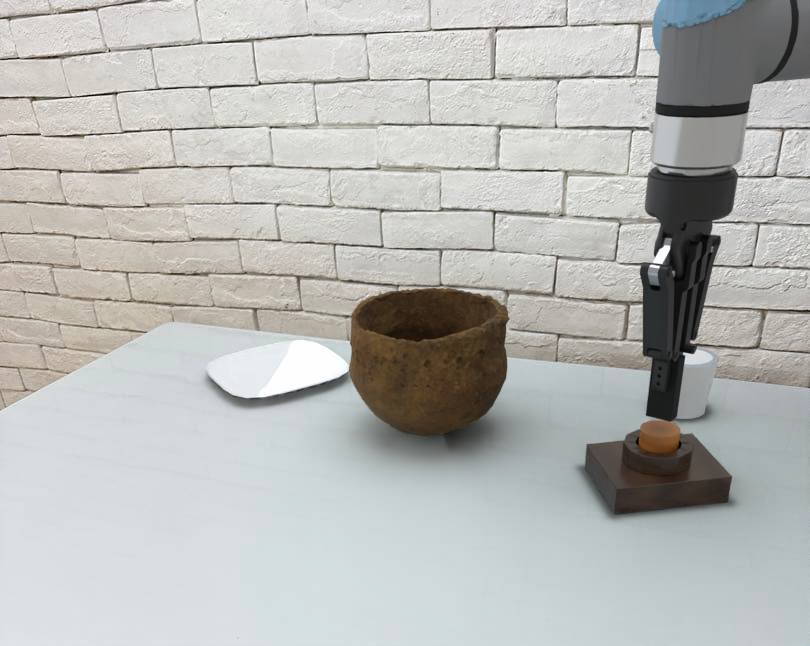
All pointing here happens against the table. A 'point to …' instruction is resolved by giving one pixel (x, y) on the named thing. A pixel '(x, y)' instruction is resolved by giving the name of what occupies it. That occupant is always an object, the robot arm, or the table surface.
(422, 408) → the bowl
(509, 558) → the table surface
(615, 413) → the table surface
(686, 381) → the white cup
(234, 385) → the plate
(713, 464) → the brown button base
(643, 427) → the orange push button
